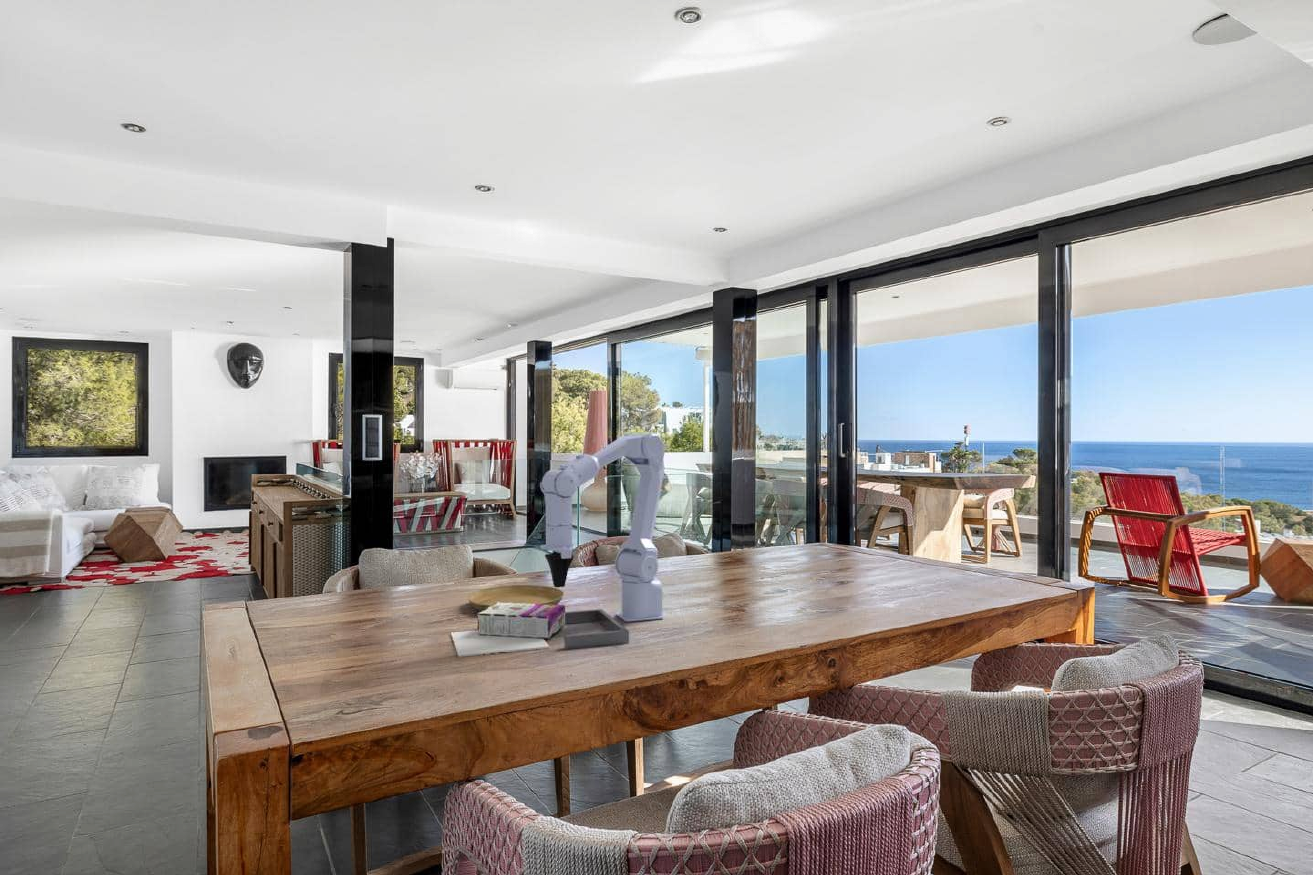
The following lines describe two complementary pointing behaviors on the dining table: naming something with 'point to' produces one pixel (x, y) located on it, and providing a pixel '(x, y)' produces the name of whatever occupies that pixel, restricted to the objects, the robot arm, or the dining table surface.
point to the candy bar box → (521, 620)
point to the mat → (493, 643)
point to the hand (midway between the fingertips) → (559, 586)
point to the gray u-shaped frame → (613, 636)
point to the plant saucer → (515, 595)
